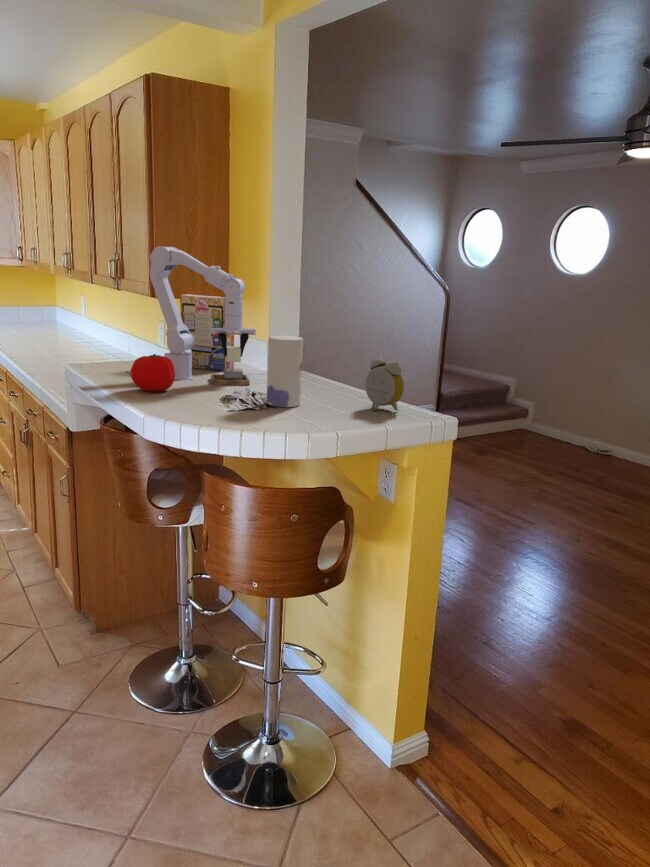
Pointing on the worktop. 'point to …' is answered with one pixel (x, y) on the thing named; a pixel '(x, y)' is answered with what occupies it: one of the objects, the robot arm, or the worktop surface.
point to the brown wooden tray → (218, 380)
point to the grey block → (232, 374)
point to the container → (284, 370)
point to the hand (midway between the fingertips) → (233, 356)
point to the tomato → (153, 373)
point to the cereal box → (206, 330)
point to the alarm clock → (384, 383)
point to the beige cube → (233, 354)
